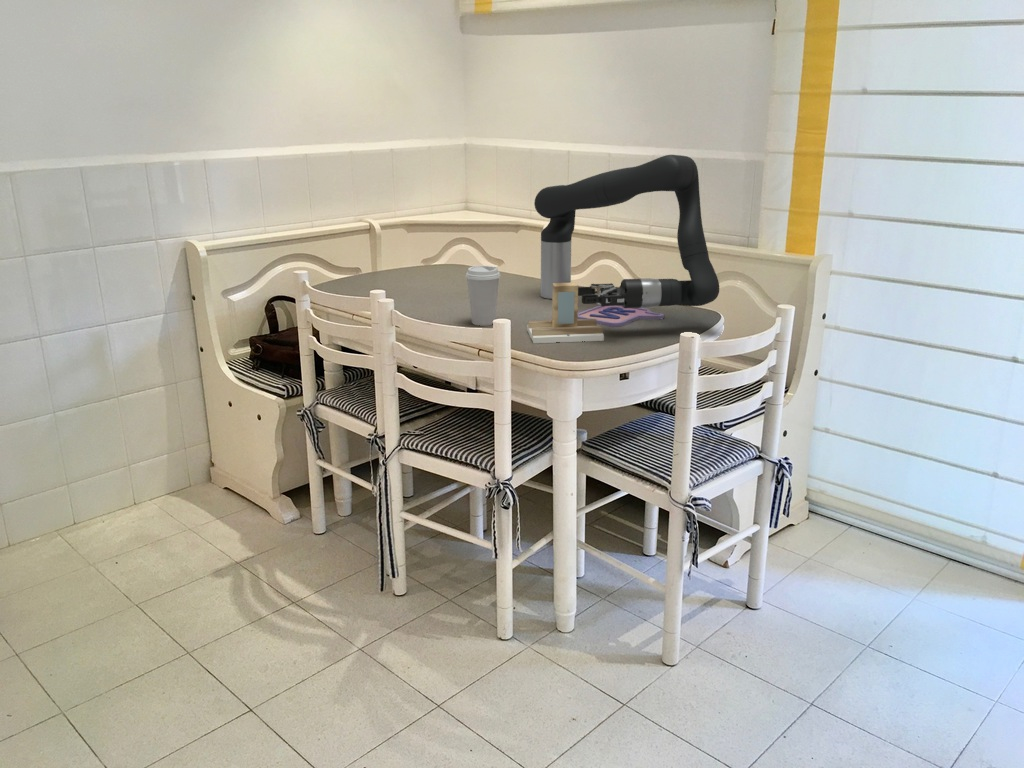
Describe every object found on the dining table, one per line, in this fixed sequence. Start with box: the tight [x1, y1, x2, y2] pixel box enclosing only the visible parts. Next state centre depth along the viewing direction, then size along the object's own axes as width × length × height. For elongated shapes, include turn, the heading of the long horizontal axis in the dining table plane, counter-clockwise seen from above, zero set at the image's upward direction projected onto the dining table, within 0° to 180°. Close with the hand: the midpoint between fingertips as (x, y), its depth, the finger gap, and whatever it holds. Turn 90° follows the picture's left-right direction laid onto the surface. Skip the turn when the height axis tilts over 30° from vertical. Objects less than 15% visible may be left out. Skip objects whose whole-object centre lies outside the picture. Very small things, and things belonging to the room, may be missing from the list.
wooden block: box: [551, 282, 579, 328], centre depth 212 cm, size 6×4×12 cm, turn 96°
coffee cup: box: [464, 265, 502, 327], centre depth 224 cm, size 10×10×15 cm
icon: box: [577, 304, 665, 328], centre depth 231 cm, size 19×2×20 cm
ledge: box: [526, 319, 605, 344], centre depth 214 cm, size 12×18×3 cm, turn 97°
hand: (578, 295), depth 211 cm, fingers open, 8 cm apart
